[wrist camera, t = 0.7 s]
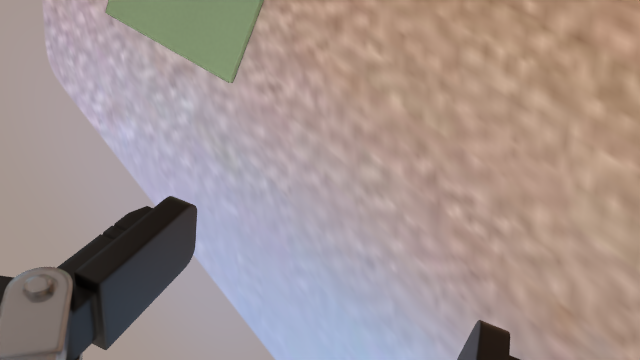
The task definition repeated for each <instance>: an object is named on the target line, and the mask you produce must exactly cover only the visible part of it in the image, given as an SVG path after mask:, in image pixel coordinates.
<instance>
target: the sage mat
mask: <svg viewBox="0 0 640 360" xmlns="http://www.w3.org/2000/svg"><path fill="white" fill-rule="evenodd" d="M262 3H263V0H109V1H108V5H107V8H106V13H107V14H108V15H110V16H112V17H114V18H115V19H117V20H119V21H121V22H122V23H124V24H126V25H128V26H130V27H131V28H133V29H135V30H137V31H138V32H140V33H142V34H144V35H145V36H147V37H149V38H151V39H153V40H154V41H156V42H158V43H160V44H161V45H163V46H165V47H167V48H168V49H170V50H172V51H174V52H175V53H177V54H179V55H181V56H183V57H184V58H186V59H188V60H190V61H191V62H193V63H195V64H197V65H198V66H200V67H202V68H204V69H206V70H207V71H209V72H211V73H213V74H214V75H216V76H218V77H220V78H221V79H223V80H225V81H227V82H228V83H233V80H234V78H235V75H236V72H237V70H238V67H239V64H240V62H241V59H242V56H243V54H244V51H245V48H246V46H247V43H248V40H249V38H250V35H251V32H252V30H253V27H254V24H255V22H256V19H257V16H258V14H259V11H260V8H261V6H262Z"/></svg>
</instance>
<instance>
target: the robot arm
mask: <svg viewBox="0 0 640 360" xmlns="http://www.w3.org/2000/svg"><path fill="white" fill-rule="evenodd" d="M196 222H197V208H196V206H195V205H193V204H190V203H188V202H185V201H183V200H180V199H178V198H175V197H173V196H169V197H167V198H166V199H164V200H163V201H162V202H161V203H159V204H158V205H157V206H156V207H154V208H151V207H148V206H146V207H143V208H141V209H138V210H135V211H133V212H130V213H128V214H127V215H125V216H124V217H123V218H121V219H120V220H119V221H118V222H116V223H115V225H114V226H111V227H110V228H108V229H107V230H106V231H104V233H103V235H99V236H98V237H97V238H95V239H94V240H93V241H91V242H90V243H89V244H88V245H86V246H85V247H84V248H82V249H81V250H80V251H78V252H77V253H76V254H74V255H73V256H72V257H70V258H69V259H68V260H66V261H65V262H64V263H62V264H61V265H60V266H58V267H57V268H55V267H39V268H35V269H31V270H28V271H25V272H23V273H21V274H20V275H18V276H16V277H15V278H12V277H5V276H0V360H82V352H83V351H84V350H85V349H86V348H87V347H88V346H89V345H90V344H91V343H92V344H94V345H96V346H98V347H100V348H102V349H104V350H107V349H108V348H109V347H110V346H111V345H112V344H113V343H114V342H115V340H117V339H118V338H119V336H120V335H121V334H122V333H123V332H124V331H125V330H126V329H127V328H128V327H129V326H130V325H131V324H132V323H133V322H134V320H136V319H137V318H138V317H139V316H140V314H141V313H142V312H143V311H144V310H145V309H146V308H147V307H148V306H149V305H150V304H151V303H152V302H153V301H154V300H155V298H157V297H158V296H159V295H160V294H161V293H162V291H163V290H164V289H165V288H166V287H167V286H168V285H169V284H170V283H171V282H172V281H173V280H174V279H175V278H176V277H177V276H178V275H179V274H180V273H181V272H182V271H183V269H184V268H185V267H186V266H187V264H188V263H189V262H190V260H191V258H192V256H193V253H194V250H195V241H196ZM509 349H510V333H509V332H508V331H506V330H503V329H501V328H498V327H496V326H493V325H491V324H488V323H486V322H483V321H481V320H479V321H478V322H477V323H476V325H475V326H474V328H473V330H472V332H471V334H470V336H469V338H468V340H467V342H466V344H465V345H464V347H463V349H462V351H461V353H460V355H459V357H458V359H457V360H520V359H517V358H515V357H512V356H510V355H509Z"/></svg>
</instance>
